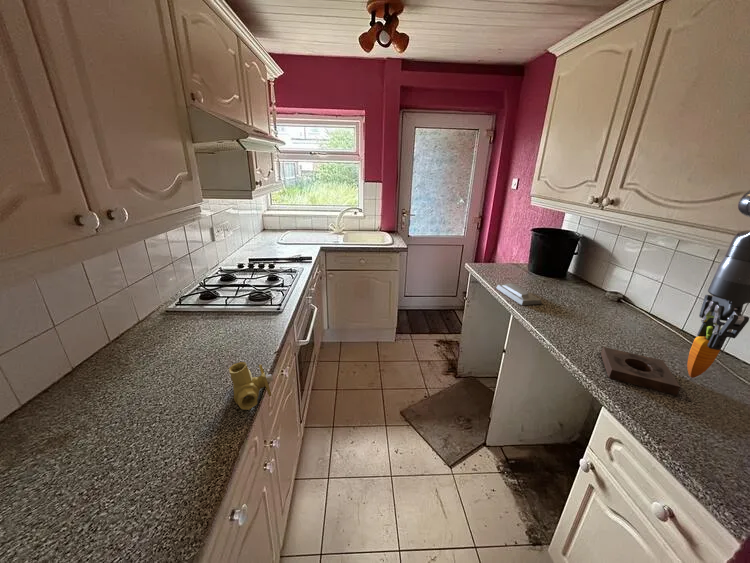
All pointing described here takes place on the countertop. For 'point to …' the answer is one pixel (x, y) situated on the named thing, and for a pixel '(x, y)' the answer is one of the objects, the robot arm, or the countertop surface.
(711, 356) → the carrot
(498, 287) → the soap mold
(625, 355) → the socket board
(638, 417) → the countertop surface
